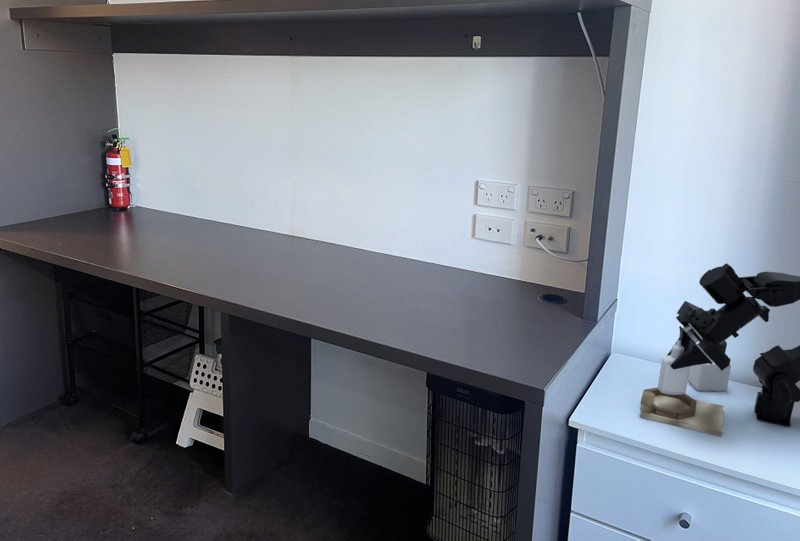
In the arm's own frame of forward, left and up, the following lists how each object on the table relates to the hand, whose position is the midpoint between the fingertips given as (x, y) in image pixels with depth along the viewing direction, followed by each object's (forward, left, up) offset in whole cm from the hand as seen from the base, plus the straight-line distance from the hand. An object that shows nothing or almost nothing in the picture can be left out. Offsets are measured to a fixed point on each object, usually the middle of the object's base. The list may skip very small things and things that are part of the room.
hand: (669, 363), depth 143 cm
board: (-4, 0, -11) cm, 12 cm away
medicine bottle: (-8, -18, -11) cm, 23 cm away
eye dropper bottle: (-1, 0, -7) cm, 7 cm away
